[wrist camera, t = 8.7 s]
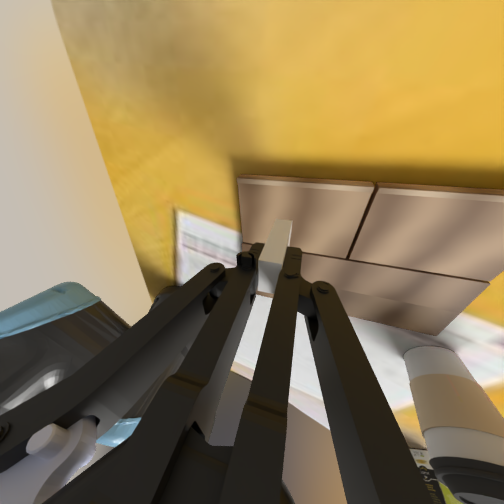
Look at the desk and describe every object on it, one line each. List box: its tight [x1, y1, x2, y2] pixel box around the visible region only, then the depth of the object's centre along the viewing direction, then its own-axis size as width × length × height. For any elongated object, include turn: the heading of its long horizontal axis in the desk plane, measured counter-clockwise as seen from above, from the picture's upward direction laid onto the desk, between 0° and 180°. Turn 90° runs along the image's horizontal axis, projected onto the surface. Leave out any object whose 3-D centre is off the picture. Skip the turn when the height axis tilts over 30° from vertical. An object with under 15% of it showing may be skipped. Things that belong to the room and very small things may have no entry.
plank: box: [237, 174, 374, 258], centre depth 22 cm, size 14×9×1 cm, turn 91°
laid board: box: [242, 242, 490, 336], centre depth 26 cm, size 28×10×1 cm, turn 91°
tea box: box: [410, 449, 463, 504], centre depth 46 cm, size 15×10×15 cm
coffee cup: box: [404, 346, 504, 504], centre depth 23 cm, size 9×9×15 cm
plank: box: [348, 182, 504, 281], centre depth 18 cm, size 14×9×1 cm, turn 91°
